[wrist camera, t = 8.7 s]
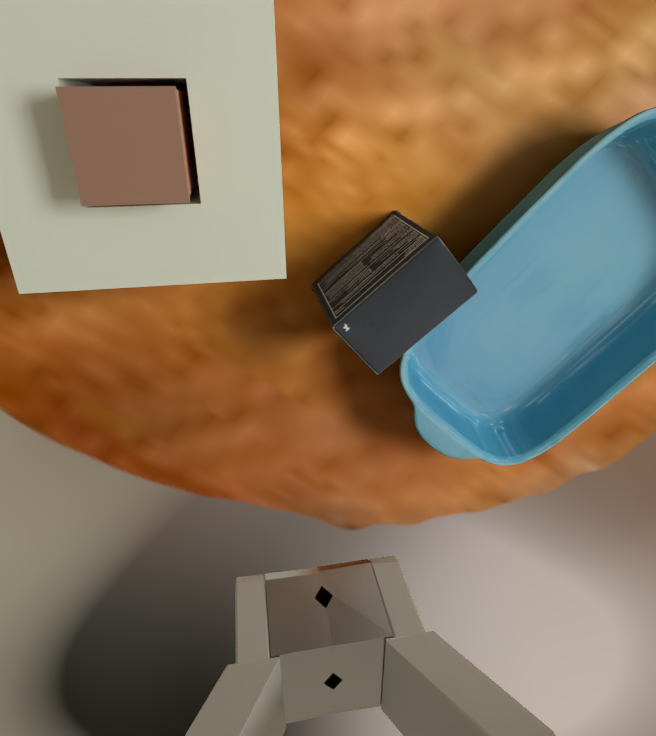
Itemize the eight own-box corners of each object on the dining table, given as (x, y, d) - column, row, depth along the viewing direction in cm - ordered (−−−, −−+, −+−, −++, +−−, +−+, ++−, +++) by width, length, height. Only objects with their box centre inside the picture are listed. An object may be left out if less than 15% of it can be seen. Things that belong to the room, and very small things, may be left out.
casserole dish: (636, 49, 43) (705, 39, 37) (735, 226, 53) (802, 242, 47) (339, 353, 52) (354, 387, 46) (470, 459, 61) (497, 499, 55)
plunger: (103, 92, 38) (55, 86, 27) (190, 91, 39) (174, 86, 28) (120, 180, 40) (81, 206, 30) (200, 178, 41) (189, 202, 31)
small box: (351, 331, 51) (378, 380, 42) (308, 285, 48) (326, 328, 39) (435, 259, 49) (483, 294, 40) (395, 206, 46) (436, 232, 37)
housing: (-11, -13, 35) (-94, -54, 26) (267, -7, 37) (278, -42, 28) (58, 260, 43) (14, 300, 34) (280, 249, 46) (292, 283, 37)
